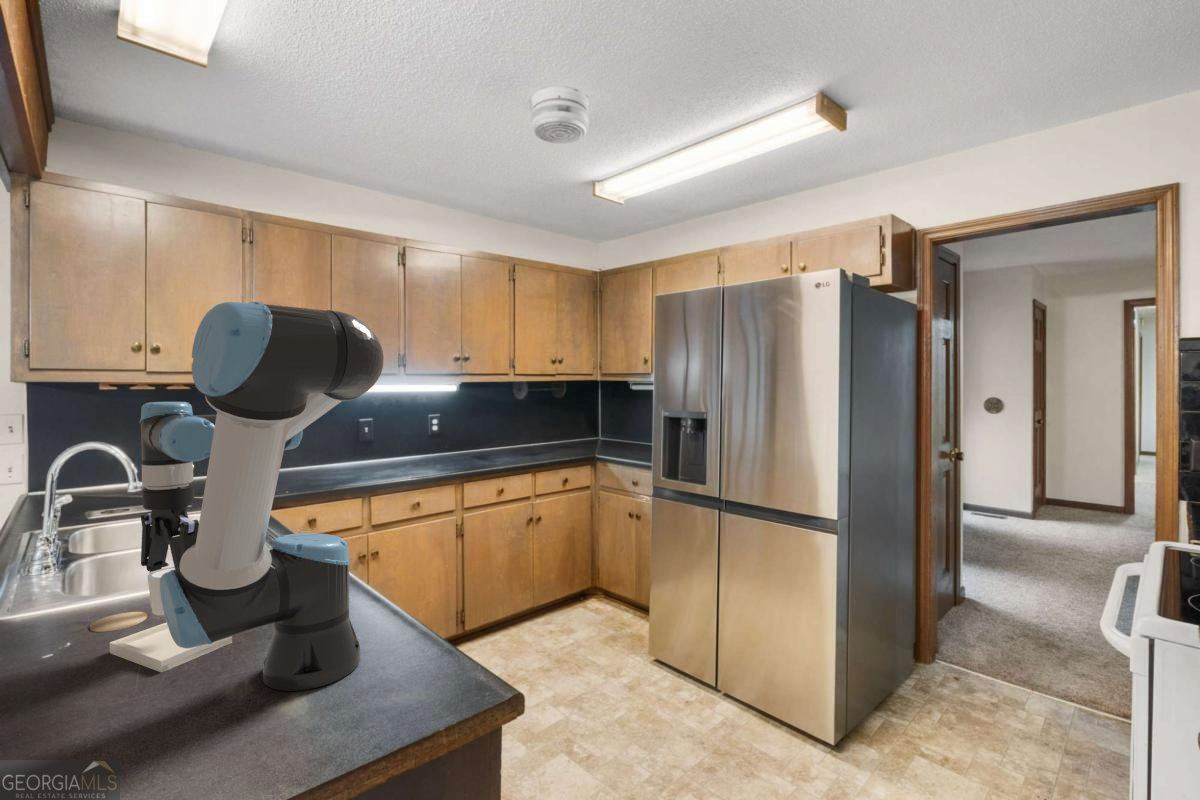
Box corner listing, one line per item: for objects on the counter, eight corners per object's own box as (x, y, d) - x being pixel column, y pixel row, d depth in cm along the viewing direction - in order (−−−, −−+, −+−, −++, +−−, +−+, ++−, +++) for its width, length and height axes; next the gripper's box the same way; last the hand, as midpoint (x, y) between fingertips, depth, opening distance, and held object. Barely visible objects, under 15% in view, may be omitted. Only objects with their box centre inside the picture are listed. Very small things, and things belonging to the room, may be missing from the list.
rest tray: (232, 642, 107) (232, 632, 107) (161, 672, 96) (161, 661, 96) (181, 626, 113) (181, 617, 113) (109, 653, 102) (109, 642, 102)
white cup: (187, 598, 109) (187, 563, 109) (199, 608, 105) (198, 571, 105) (143, 609, 104) (142, 572, 104) (153, 620, 100) (152, 581, 99)
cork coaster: (155, 620, 117) (155, 617, 117) (101, 637, 109) (101, 634, 109) (134, 611, 121) (134, 608, 121) (81, 627, 114) (81, 624, 114)
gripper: (223, 486, 103) (225, 609, 104) (160, 477, 111) (162, 591, 112) (178, 494, 96) (181, 626, 97) (114, 484, 104) (117, 605, 105)
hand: (171, 607), depth 104 cm, fingers closed on white cup, 7 cm apart
